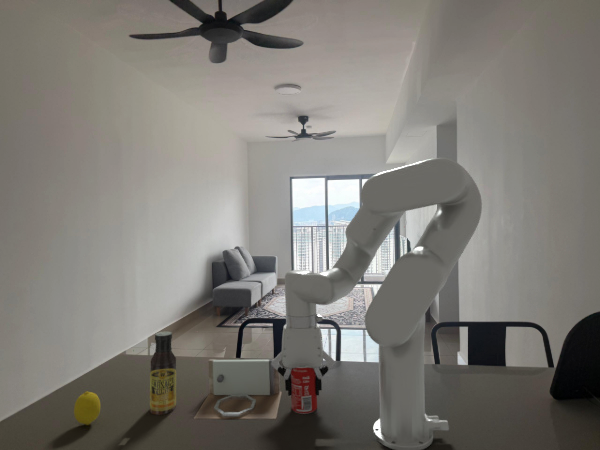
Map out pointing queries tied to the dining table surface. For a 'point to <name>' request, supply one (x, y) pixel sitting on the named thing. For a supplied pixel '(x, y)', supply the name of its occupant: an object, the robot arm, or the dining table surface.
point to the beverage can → (303, 390)
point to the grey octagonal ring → (234, 414)
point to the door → (243, 377)
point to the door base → (241, 402)
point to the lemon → (87, 408)
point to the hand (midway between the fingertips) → (303, 392)
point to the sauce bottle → (163, 375)
